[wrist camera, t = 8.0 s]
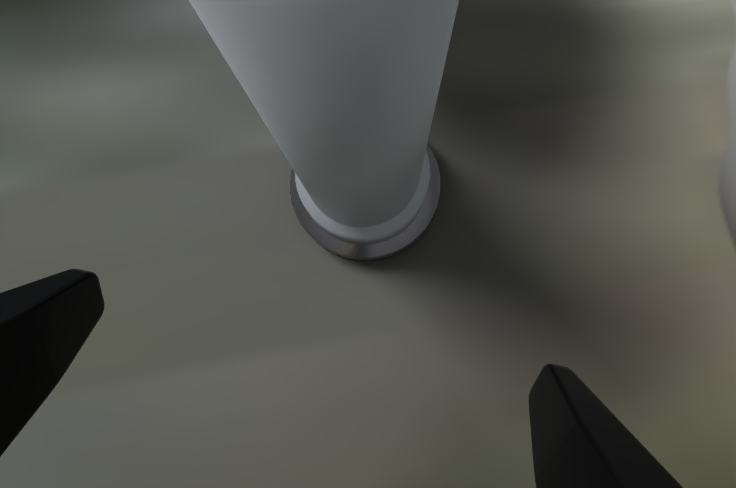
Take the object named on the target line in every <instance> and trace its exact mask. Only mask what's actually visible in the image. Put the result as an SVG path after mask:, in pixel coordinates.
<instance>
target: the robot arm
mask: <svg viewBox="0 0 736 488" xmlns="http://www.w3.org/2000/svg"><path fill="white" fill-rule="evenodd" d="M103 311H104V300H103V296H102V291H101V287H100V283H99V279H98V277H97V275H96V274H95V273H93V272H90V271H85V270H80V269H70V270H67V271H64V272H61V273H58V274H55V275H52V276H49V277H46V278H43V279H40V280H37V281H35V282H32V283H29V284H26V285H23V286H20V287H17V288H14V289H11V290H8V291H5V292H2V293H0V456H1V455H2V454H3V453H4V451H5V450H6V449H7V448H8V446H9V445H10V444H11V442H12V441H13V440H14V439H15V437H16V436H17V435H18V434H19V432H20V431H21V430H22V429H23V427H24V426H25V425H26V423H27V422H28V421H29V420H30V418H31V417H32V416H33V415H34V413H35V412H36V411H37V409H38V408H39V407H40V406H41V404H42V403H43V402H44V401H45V399H46V398H47V397H48V396H49V394H50V393H51V392H52V390H53V389H54V388H55V386H56V385H57V384H58V382H59V381H60V379H61V378H62V376H63V375H64V373H65V372H66V371H67V369H68V367H69V366H70V364H71V363H72V361H73V360H74V358H75V356H76V355H77V353H78V352H79V350H80V349H81V347H82V346H83V344H84V342H85V341H86V339H87V338H88V336H89V335H90V333H91V331H92V330H93V328H94V327H95V325H96V324H97V322H98V321H99V319H100V317H101V316H102V313H103ZM529 413H530V425H531V438H532V451H533V463H534V473H535V482H536V488H683V487H682V486H681V485H680V484H679V483H678V482H677V481H676V480H675V479H674V478H673V477H672V476H671V474H670V473H669V472H668V471H667V470H666V469H665V468H664V467H663V466H662V465H661V464H660V463H659V462H658V461H657V460H656V459H655V458H654V457H653V456H652V454H651V453H650V452H649V451H648V450H647V449H646V448H645V447H644V446H643V445H642V444H641V443H640V442H639V441H638V440H637V439H636V438H635V437H634V436H633V434H632V433H631V432H630V431H629V430H628V429H627V428H626V427H625V426H624V425H623V424H622V423H621V422H620V421H619V420H618V419H617V418H616V417H615V415H614V414H613V413H612V412H611V411H610V410H609V409H608V408H607V407H606V406H605V405H604V404H603V403H602V402H601V401H600V400H599V399H598V398H597V397H596V395H595V394H594V393H593V392H592V391H591V390H590V389H589V388H588V387H587V386H586V385H585V384H584V383H583V382H582V381H581V380H580V379H579V378H578V377H577V375H576V374H575V373H574V372H573V371H572V370H570V369H569V368H567V367H563V366H558V365H553V364H547V365H546V366H544V368H543V369H542V371H541V373H540V374H539V376H538V378H537V380H536V381H535V383H534V385H533V387H532V388H531V391H530V394H529Z"/></svg>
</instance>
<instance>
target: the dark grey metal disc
mask: <svg viewBox="0 0 736 488" xmlns="http://www.w3.org/2000/svg"><path fill="white" fill-rule="evenodd" d="M426 151H427V155H428V159H429V165H430V179H429V185H428V189H427V192H426V195H425V199H424V202H423V205H422V207H421V209H420V212H419V213H418V215H417V217H416V218H415V220H414V221H413V222H412V223H411V224H410V225H409V226H408V227H407V228H406V229H405V230H404V231H403V232H401V233H400V234H398V235H397V236H395V237H393V238H391V239H389V240H386V241H383V242H380V243H376V244H368V245H360V244H352V243H347V242H344V241H341V240H339V239H336V238H334V237H332V236H331V235H329V234H328V233H326V232H325V231H324V230H323V229H322V228H320V227H319V225H318V224H317V223H316V222H315V221H314V219H313V218H312V217H311V215H310V214H309V212H308V211H307V210H306V208H305V207H304V205H303V203H302V201H301V199H300V197H299V194H298V191H297V187H296V182H295V171H294V170H292V173H291V181H290V193H291V200H292V204H293V207H294V211H295V213H296V215H297V217H298V219H299V221H300V223H301V224H302V226H303V227H304V229H305V230H306V231H307V232H308V233H309V235H310V236H311V237H312V238H313V239H314V240H315V241H316V242H317V243H318V244H319V245H321V246H322V247H323V248H325V249H326V250H328V251H330V252H332V253H333V254H335V255H338V256H341V257H343V258H347V259H352V260H359V261H373V260H379V259H384V258H387V257H391V256H393V255H395V254H398V253H400V252H402V251H403V250H405V249H406V248H408V247H410V246H411V245H412V244H413V243H414V242H415V241H417V240H418V238H419V237H420V236H421V235H422V234H423V233H424V231H425V230H426V228H427V227H428V226H429V224H430V222H431V220H432V218H433V215H434V213H435V211H436V208H437V205H438V201H439V196H440V187H441V181H440V172H439V167H438V164H437V161H436V158H435V156H434V154H433V152H432V150H431V148H430V147H429V145H428V144H427V147H426Z"/></svg>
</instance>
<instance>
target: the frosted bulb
mask: <svg viewBox="0 0 736 488" xmlns="http://www.w3.org/2000/svg"><path fill="white" fill-rule="evenodd" d="M189 1H190V3H191V4H192V6H193V8H194V9H195V11H196V13H197V14H198V16H199V17H200V19H201V21H202V22H203V24H204V26H205V27H206V29H207V30H208V32H209V34H210V35H211V37H212V39H213V40H214V42H215V43H216V45H217V47H218V48H219V50H220V51H221V53H222V55H223V56H224V58H225V60H226V61H227V63H228V64H229V66H230V68H231V69H232V71H233V73H234V74H235V76H236V77H237V79H238V81H239V82H240V84H241V85H242V87H243V89H244V90H245V92H246V94H247V95H248V97H249V98H250V100H251V102H252V103H253V105H254V107H255V108H256V110H257V111H258V113H259V115H260V116H261V118H262V120H263V121H264V123H265V124H266V126H267V128H268V129H269V131H270V132H271V134H272V136H273V137H274V139H275V141H276V142H277V144H278V145H279V147H280V149H281V150H282V152H283V154H284V155H285V157H286V158H287V160H288V162H289V163H290V165H291V166H292V168H293V170H294V171H295V182H296V187H297V191H298V194H299V197H300V199H301V201H302V203H303V205H304V207H305V208H306V210H307V211H308V212H309V214H310V215H311V217H312V218H313V219H314V221H315V222H316V223H317V224H318V225H319V227H320V228H322V229H323V230H324V231H325V232H326V233H328V234H329V235H331V236H332V237H334V238H336V239H339V240H341V241H344V242H347V243H352V244H360V245H368V244H376V243H380V242H383V241H386V240H389V239H391V238H393V237H395V236H397V235H398V234H400V233H401V232H403V231H404V230H405V229H406V228H407V227H408V226H409V225H410V224H411V223H412V222H413V221H414V220H415V218H416V217H417V215H418V213H419V212H420V209H421V207H422V205H423V202H424V199H425V195H426V192H427V189H428V185H429V179H430V165H429V159H428V155H427V151H426V147H427V142H428V138H429V133H430V129H431V124H432V120H433V115H434V111H435V106H436V102H437V97H438V93H439V88H440V84H441V79H442V75H443V70H444V66H445V61H446V57H447V52H448V48H449V43H450V39H451V34H452V30H453V25H454V21H455V16H456V12H457V7H458V3H459V0H189Z"/></svg>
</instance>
